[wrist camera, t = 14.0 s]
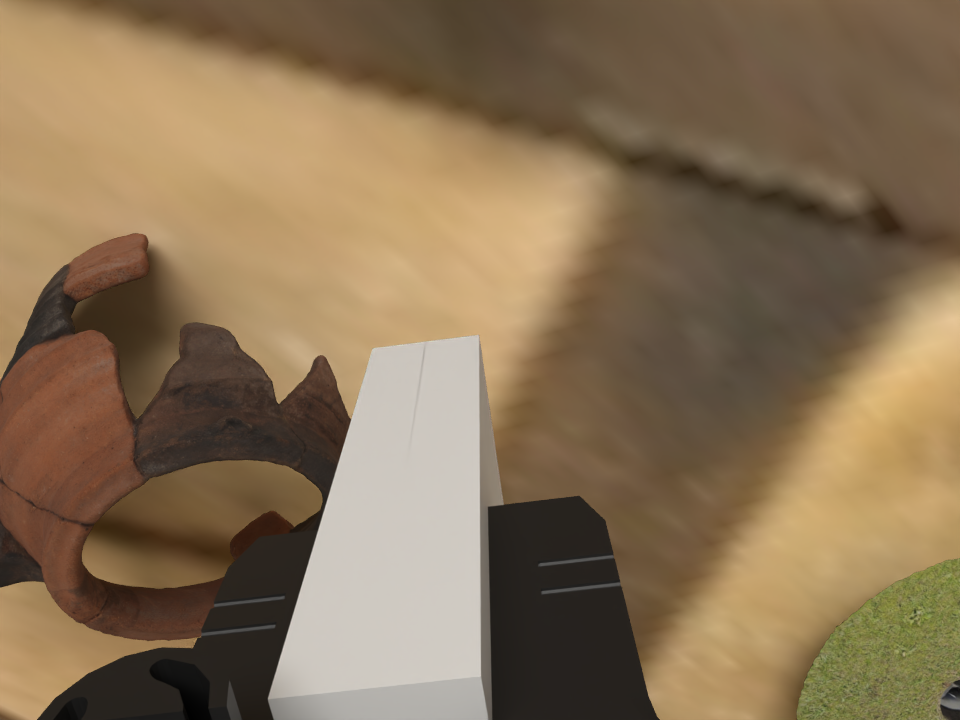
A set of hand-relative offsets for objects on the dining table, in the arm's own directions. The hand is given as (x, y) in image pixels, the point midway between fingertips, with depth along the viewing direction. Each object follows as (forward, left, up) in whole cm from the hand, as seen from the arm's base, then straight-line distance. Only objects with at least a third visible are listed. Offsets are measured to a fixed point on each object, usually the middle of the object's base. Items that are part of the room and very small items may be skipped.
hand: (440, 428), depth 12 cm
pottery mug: (-11, -3, -13) cm, 17 cm away
